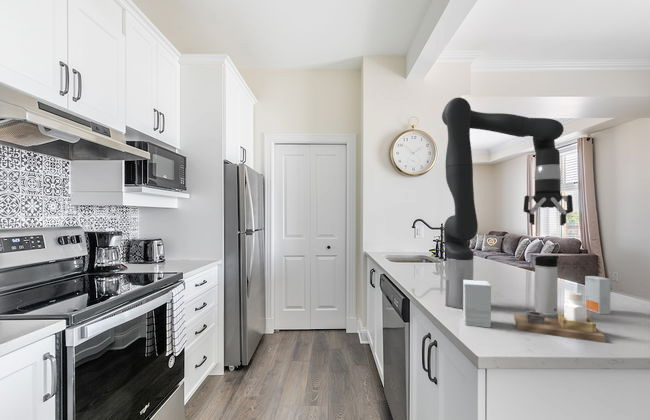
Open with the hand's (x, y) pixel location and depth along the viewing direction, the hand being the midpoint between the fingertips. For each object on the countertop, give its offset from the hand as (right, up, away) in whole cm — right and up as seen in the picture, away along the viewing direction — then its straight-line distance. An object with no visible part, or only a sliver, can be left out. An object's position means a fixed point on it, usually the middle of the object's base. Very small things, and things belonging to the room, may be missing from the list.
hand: (547, 225), depth 117 cm
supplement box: (-31, -30, -13) cm, 45 cm away
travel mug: (-4, -30, -5) cm, 31 cm away
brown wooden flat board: (-10, -30, -19) cm, 37 cm away
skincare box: (+18, -31, 0) cm, 35 cm away
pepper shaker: (-6, -28, -21) cm, 36 cm away
